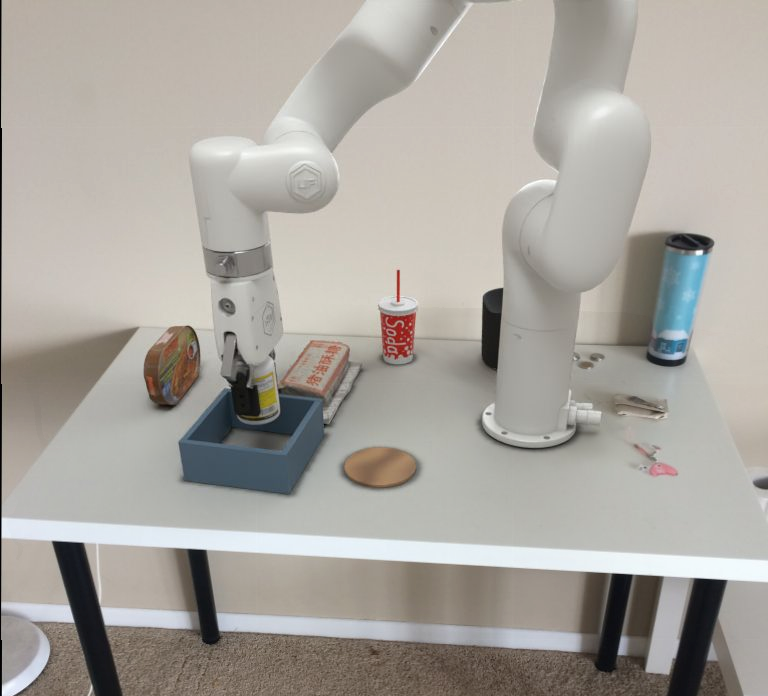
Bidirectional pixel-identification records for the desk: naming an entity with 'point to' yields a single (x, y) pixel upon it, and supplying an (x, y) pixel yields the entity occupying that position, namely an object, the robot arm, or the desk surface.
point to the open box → (250, 464)
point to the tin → (172, 365)
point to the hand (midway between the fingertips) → (256, 401)
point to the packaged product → (321, 375)
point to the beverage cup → (398, 326)
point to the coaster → (380, 467)
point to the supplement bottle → (263, 392)
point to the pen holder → (491, 326)
